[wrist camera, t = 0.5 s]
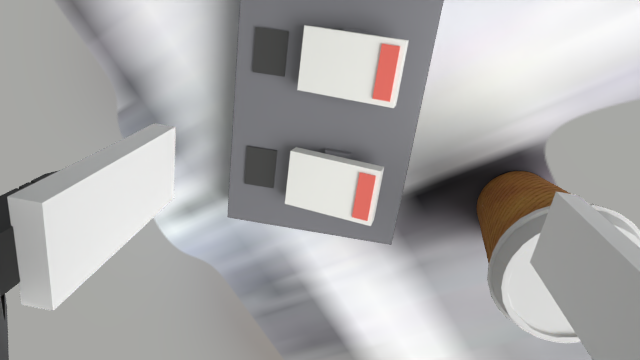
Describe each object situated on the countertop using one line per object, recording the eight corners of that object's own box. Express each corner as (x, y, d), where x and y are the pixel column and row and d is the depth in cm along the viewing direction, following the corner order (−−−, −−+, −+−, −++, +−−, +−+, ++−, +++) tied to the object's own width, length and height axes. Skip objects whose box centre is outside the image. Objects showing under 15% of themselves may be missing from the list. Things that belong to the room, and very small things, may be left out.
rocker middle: (310, 25, 31) (303, 25, 30) (408, 40, 29) (405, 40, 28) (303, 87, 32) (296, 90, 31) (395, 105, 31) (392, 108, 29)
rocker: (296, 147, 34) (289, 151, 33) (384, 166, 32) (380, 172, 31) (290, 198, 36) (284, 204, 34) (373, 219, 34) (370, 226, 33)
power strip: (263, -166, 30) (248, -191, 27) (467, -142, 29) (480, -164, 26) (238, 202, 40) (225, 220, 37) (389, 227, 39) (391, 248, 36)
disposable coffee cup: (456, 256, 40) (490, 349, 28) (457, 155, 36) (495, 217, 25) (568, 252, 38) (650, 349, 27) (579, 148, 35) (677, 209, 24)
